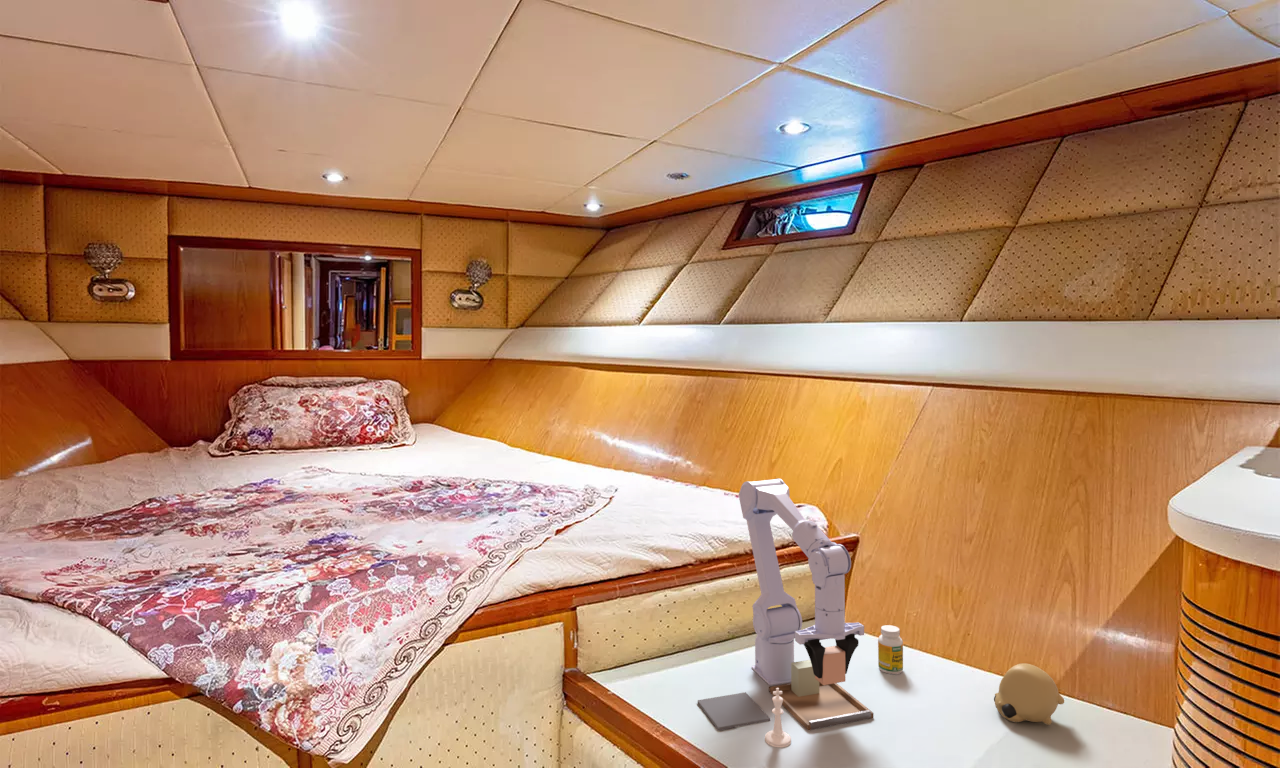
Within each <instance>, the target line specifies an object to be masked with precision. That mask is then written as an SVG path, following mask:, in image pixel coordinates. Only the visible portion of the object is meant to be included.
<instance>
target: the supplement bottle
mask: <svg viewBox="0 0 1280 768" xmlns="http://www.w3.org/2000/svg"><path fill="white" fill-rule="evenodd" d="M900 633H901V632H900V627H898V626H895V625H890V624H887V625H882V626H880V635H879V636H878V639H877V653H878V654H877V657H878V661H877V662H878V669H879V670H880V671H881V672H883V673H885V674H890V675H899V674H901V673H902V672H903V671H904V642H903V639H902V637H901V636H900Z"/></svg>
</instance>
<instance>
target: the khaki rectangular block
mask: <svg viewBox="0 0 1280 768" xmlns="http://www.w3.org/2000/svg"><path fill="white" fill-rule="evenodd" d="M791 690H792V691H793V692H794V693H795V694H796V695H797V696H798V697H800V696H806V695H812V694H818V693H819V681H818V680H817V679H815V675H814V673H813V668H812V664H811V660H810V659H807V660H801V661H794V662H793V663H791Z"/></svg>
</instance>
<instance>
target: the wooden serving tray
mask: <svg viewBox="0 0 1280 768" xmlns="http://www.w3.org/2000/svg"><path fill="white" fill-rule="evenodd" d="M776 688H779V691H782V694H779V696H780V697H782V698H783V703H782V705H781V706H782V707H783V708H785V710H787V711H788V712H789V713H790V715H792V717H794V718H795V719H796V720H797V722H799V724H801V725H802V726H803V728H805V730H807V731H813V730H818V729H823V728H830V727H834V726H840V725H845V724H849V723H854V722H861V721H865V720H871V719H874V712H873V711H871V710H870V708H868V707H867V706H866V705H864V704H863V703H862V702H860V700H858V699H857V698H856V697H854V696H853V695H852V694H851V693H850V692H848V691H847V690H845V688H843V687H842V686H841V685H839V683H833V684H828V685H822V684H821V683H820V682H819V693H818V694H812V695H806V696H800V697H798V696H797V695H796V694H795V693H794V692H793V691H792V690H791V683H786V684H780V685H774V686H768V692H769V693H770V694H771V695H772V697H774V696H776V695H773V691H776Z"/></svg>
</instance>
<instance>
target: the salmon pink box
mask: <svg viewBox="0 0 1280 768" xmlns="http://www.w3.org/2000/svg"><path fill="white" fill-rule="evenodd" d="M825 648H826V649H825V652H824V657H823V674H822V678H818V677H817V676H815V679H817V680H818V681H819V682H820V683H821V684H822V685H828V684H833V683H837V684H839V683H844V682H845V683H846V674H845V651H844V650H842V649H841V648H839V647H838V646H836V645H833V646H826V647H825Z"/></svg>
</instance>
